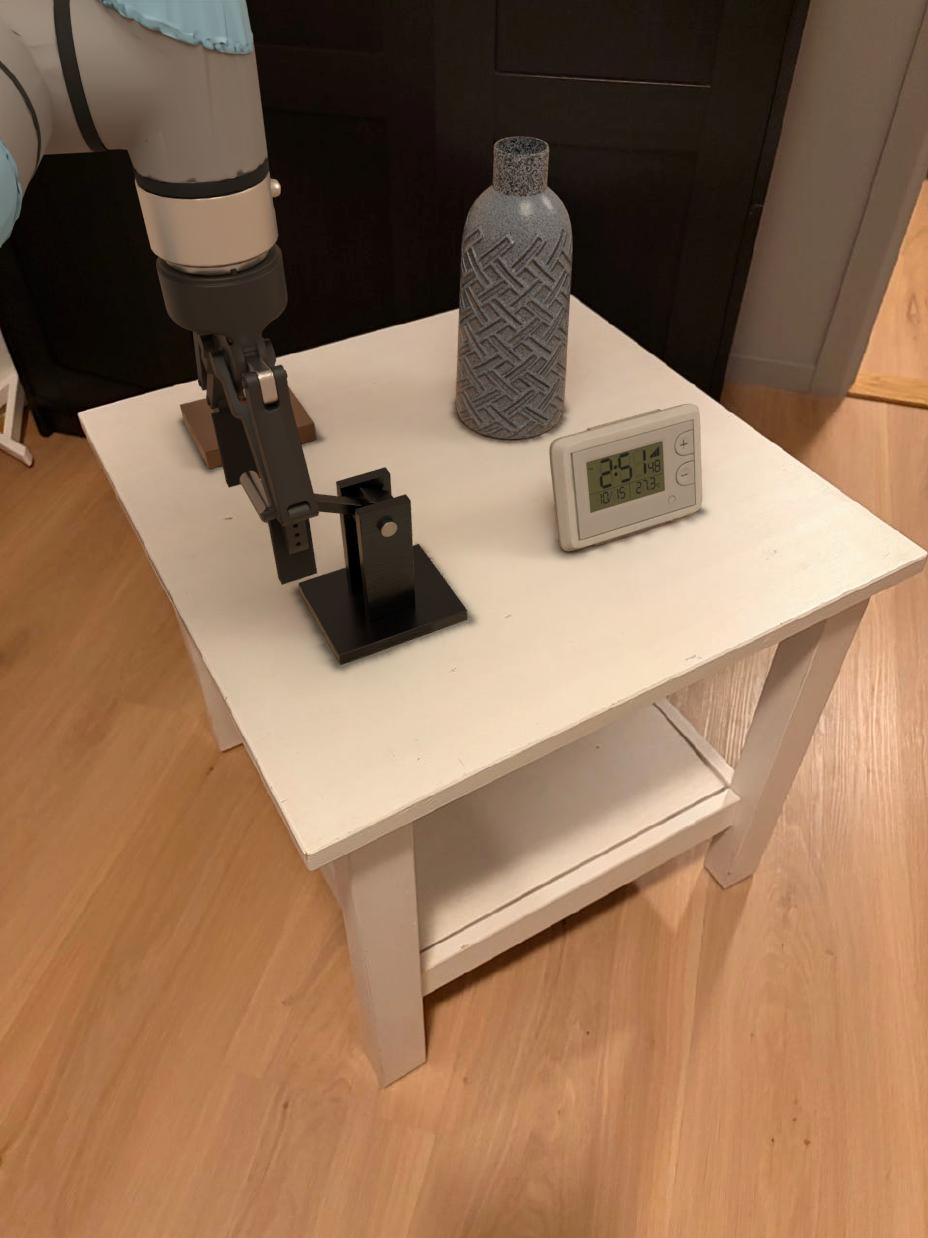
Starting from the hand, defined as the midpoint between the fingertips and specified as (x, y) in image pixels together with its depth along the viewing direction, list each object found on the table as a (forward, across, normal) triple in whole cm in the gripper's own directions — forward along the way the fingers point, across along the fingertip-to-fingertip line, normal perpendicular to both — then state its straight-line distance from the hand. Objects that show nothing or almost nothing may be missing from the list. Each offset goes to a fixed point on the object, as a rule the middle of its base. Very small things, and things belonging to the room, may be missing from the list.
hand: (269, 526), depth 71 cm
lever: (0, 0, -4) cm, 4 cm away
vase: (+13, +22, -34) cm, 43 cm away
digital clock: (+13, 0, -34) cm, 37 cm away
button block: (+12, +32, -7) cm, 35 cm away
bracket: (+12, 0, -9) cm, 15 cm away
